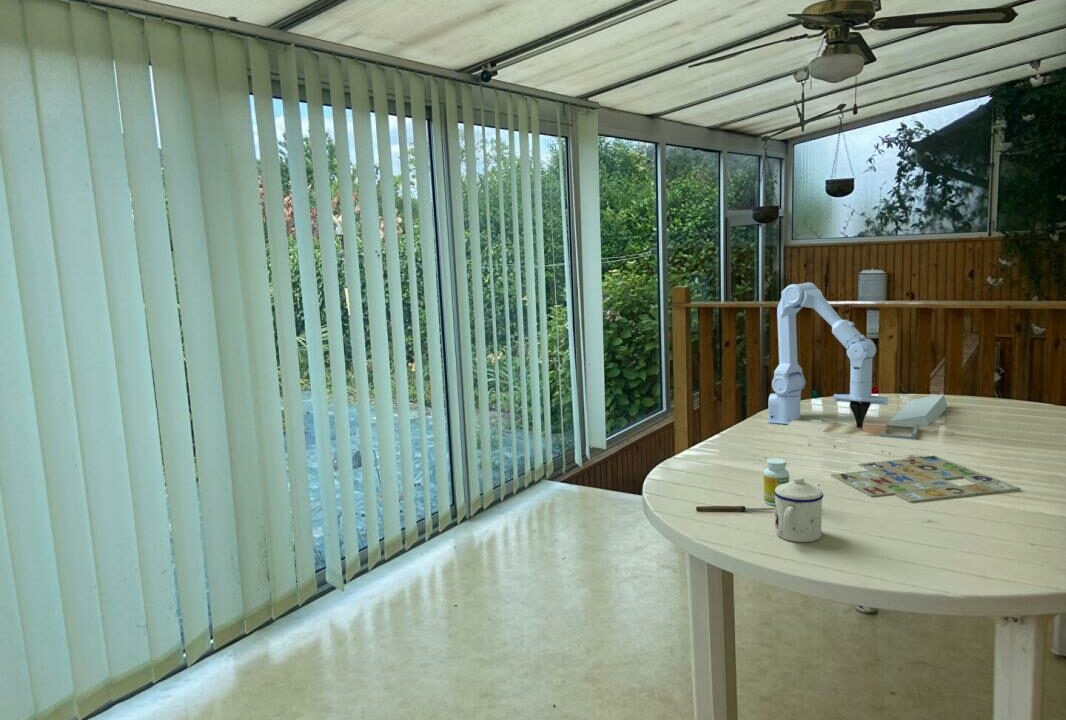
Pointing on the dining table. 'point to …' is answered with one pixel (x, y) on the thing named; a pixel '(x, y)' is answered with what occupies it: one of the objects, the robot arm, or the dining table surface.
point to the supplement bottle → (774, 478)
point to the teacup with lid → (798, 511)
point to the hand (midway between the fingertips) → (859, 427)
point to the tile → (875, 426)
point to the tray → (913, 437)
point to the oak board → (847, 429)
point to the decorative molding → (921, 410)
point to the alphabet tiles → (921, 480)
